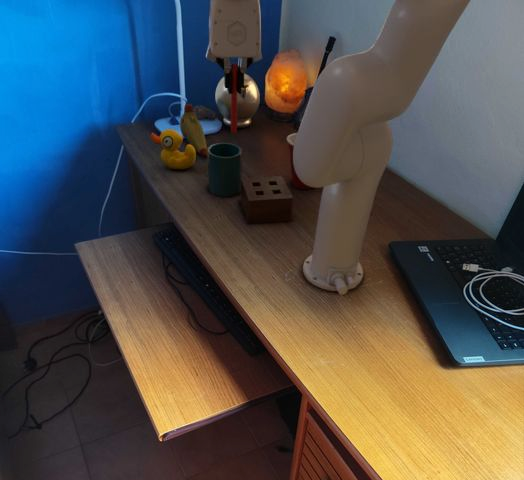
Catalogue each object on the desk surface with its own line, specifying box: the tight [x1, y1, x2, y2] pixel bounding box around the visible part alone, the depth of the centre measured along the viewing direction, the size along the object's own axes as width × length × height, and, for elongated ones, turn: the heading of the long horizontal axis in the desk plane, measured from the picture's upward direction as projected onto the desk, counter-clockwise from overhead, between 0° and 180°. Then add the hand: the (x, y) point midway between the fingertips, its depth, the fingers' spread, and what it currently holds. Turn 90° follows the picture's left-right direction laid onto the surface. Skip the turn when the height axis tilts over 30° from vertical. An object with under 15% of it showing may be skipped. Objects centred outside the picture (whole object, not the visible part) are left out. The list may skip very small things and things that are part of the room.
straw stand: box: [240, 175, 294, 225], centre depth 111 cm, size 10×10×6 cm
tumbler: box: [207, 142, 243, 198], centre depth 116 cm, size 8×8×10 cm
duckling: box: [150, 128, 197, 170], centre depth 123 cm, size 11×5×10 cm, turn 86°
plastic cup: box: [286, 132, 313, 190], centre depth 119 cm, size 11×11×12 cm
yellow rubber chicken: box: [179, 103, 208, 157], centre depth 133 cm, size 20×5×10 cm, turn 24°
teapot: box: [214, 72, 261, 129], centre depth 143 cm, size 18×14×16 cm
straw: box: [230, 61, 238, 133], centre depth 102 cm, size 1×1×14 cm
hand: (234, 91), depth 101 cm, fingers closed on straw, 1 cm apart
